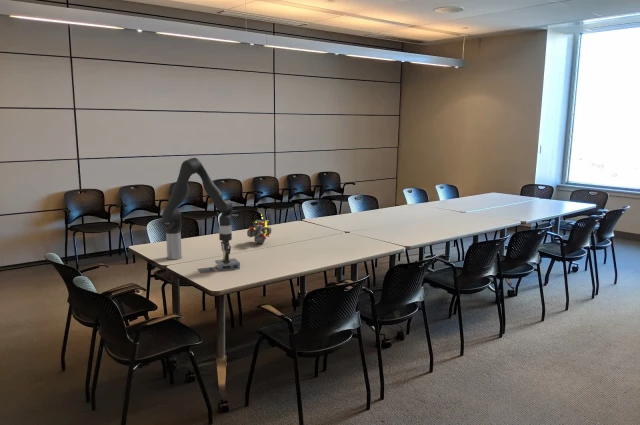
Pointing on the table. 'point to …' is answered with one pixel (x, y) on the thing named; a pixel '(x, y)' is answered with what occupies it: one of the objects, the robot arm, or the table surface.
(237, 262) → the grey flat block
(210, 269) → the rubber mat
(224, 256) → the brass pin
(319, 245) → the table surface
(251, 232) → the molecule model
